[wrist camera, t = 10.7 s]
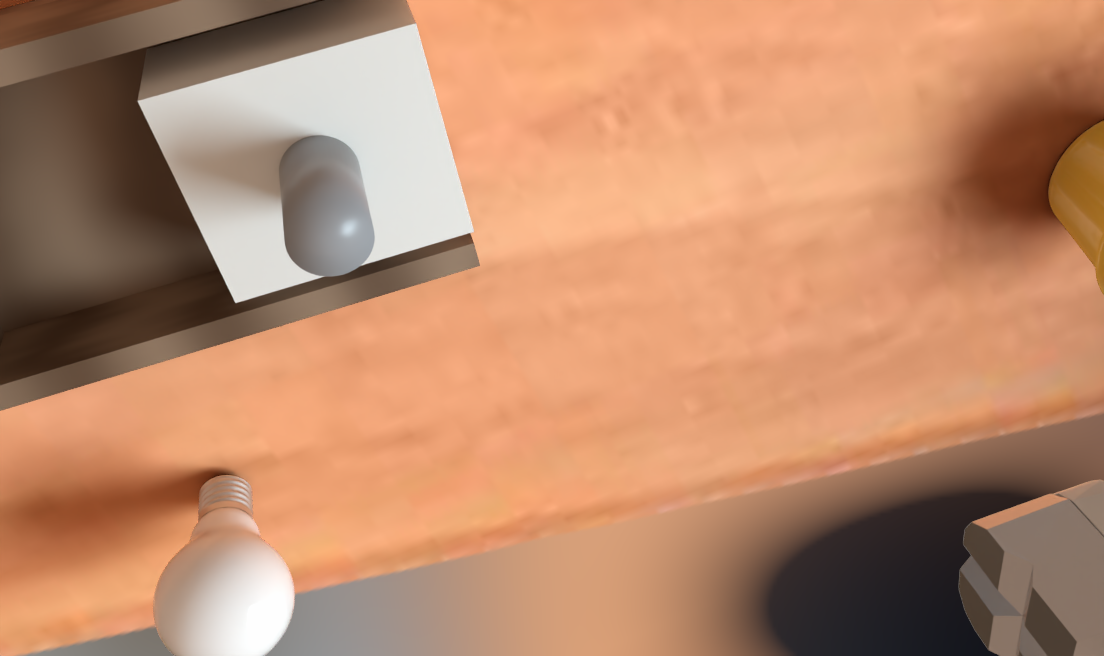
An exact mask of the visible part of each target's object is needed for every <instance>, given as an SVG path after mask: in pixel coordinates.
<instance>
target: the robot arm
mask: <svg viewBox="0 0 1104 656" xmlns="http://www.w3.org/2000/svg"><path fill="white" fill-rule="evenodd" d="M963 545H964V546H965V547H966V549H967V550H968V551H969V553H970V554H971V557H970V558H969V559H968V560H967V561H966V562H965V564H964V565H963V566H962V567H961V569H960V576H959V591H960V595H961V598H962V602H963V605H964V609H965V612H966V614H967V616H968V618H969V620H970V621H971V624H972V626H973V627H974V629H975V631H976V633H977V634H978V635H979V637H980V638H981V640H982V641H983V643H984V644H985V645H986V647H987V648H988V650H990V651H992V652H994V653H996V654H998V655H999V656H1104V481H1103V480H1092V481H1089V482H1086V483H1083V484H1080V485H1077V486H1074V487H1072V488H1069V489H1066V490H1063V491H1060V492H1057V493H1055V494H1049V495H1046V496H1043V497H1040V498H1037V499H1034V500H1032V501H1029V502H1026V503H1023V504H1021V505H1018V506H1015V507H1012V508H1009V509H1007V510H1004V511H1001V512H998V513H996V514H993V515H990V516H987V517H984V518H982V519H979V520H976V521H973V522H971V523H970V524H969V525H968V526H967V527H966V528H965V532H964V540H963Z"/></svg>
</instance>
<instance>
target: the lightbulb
mask: <svg viewBox="0 0 1104 656" xmlns="http://www.w3.org/2000/svg"><path fill="white" fill-rule="evenodd" d="M252 502H253V500H252V488H251V486H250V484H249V483H248V482H247V481H246V480H244V479H242V478H240V477H237V476H233V475H222V476H217V477H214V478H212V479H210V480H208V481H207V482H205V483H204V484H203V486H202V487H201V489H200V491H199V511H198V523H197V524H196V526H195V527H194V529H193V531H192V534H191V537H190V541H189V543H188V544H186V545H185V546H184V547H183V548H182V549H181V550H180V551H179V552H178V553H177V554H176V555H175V556H174V557H173V558H172V559H171V560H170V561H169V563H168V564H167V566H166V567H165V569H164V570H163V572H162V574H161V576H160V578H159V580H158V583H157V586H156V589H155V593H154V600H153V615H154V621H155V625H156V629H157V631H158V634H159V636H160V638H161V640H162V642H163V643H164V644H165V646H166V647H167V649H168V650H169V651H170V652H171V653H172V654H173V655H174V656H264V655H266V654H267V653H268V652H270V651H271V650H272V649H273V648H274V647H275V645H276V644H277V643H278V642H279V640H280V639H281V638H282V636H283V635H284V633H285V631H286V629H287V627H288V625H289V622H290V620H291V617H292V613H293V609H294V600H295V591H294V584H293V579H292V576H291V573H290V570H289V568H288V566H287V564H286V563H285V561H284V559H283V558H282V557H281V555H280V554H279V553H278V552H277V551H276V550H275V549H274V548H273V547H272V546H271V545H270V544H268V543H267V542H266V541H265V540H263V539H262V538H261V535H260V531H259V529H258V526H257V524H256V522H255V521H254V520H253V510H252V509H253V505H252Z"/></svg>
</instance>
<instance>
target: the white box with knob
mask: <svg viewBox="0 0 1104 656" xmlns="http://www.w3.org/2000/svg"><path fill="white" fill-rule="evenodd" d="M138 103H139V105H140V107H141V109H142V111H143V114H144V116H145V118H146V120H147V122H148V124H149V126H150V128H151V130H152V132H153V134H154V136H155V138H156V140H157V142H158V144H159V147H160V149H161V151H162V153H163V155H164V157H165V159H166V161H167V163H168V165H169V167H170V169H171V171H172V173H173V175H174V177H175V179H176V182H177V184H178V186H179V188H180V190H181V192H182V194H183V196H184V198H185V200H186V202H187V204H188V206H189V208H190V210H191V212H192V215H193V217H194V219H195V221H196V223H197V225H198V227H199V229H200V231H201V233H202V235H203V237H204V239H205V241H206V243H207V245H208V247H209V250H210V252H211V254H212V256H213V258H214V260H215V262H216V264H217V266H218V268H219V270H220V272H221V274H222V276H223V278H224V280H225V282H226V285H227V287H228V289H229V291H230V293H231V295H232V297H233V299H234V301H235V303H238V302H241V301H244V300H248V299H251V298H254V297H258V296H261V295H264V294H268V293H271V292H274V291H278V290H281V289H284V288H288V287H291V286H294V285H298V284H301V283H304V282H308V281H311V280H315V279H318V278H321V277H325V276H326V277H330V276H339V275H343V274H346V273H349V272H351V271H353V270H355V269H356V268H358V267H359V266H361V265H365V264H368V263H371V262H375V261H378V260H381V259H385V258H388V257H391V256H395V255H398V254H401V253H405V252H408V251H411V250H415V249H418V248H421V247H425V246H428V245H431V244H435V243H438V242H441V241H445V240H448V239H451V238H455V237H458V236H462V235H465V234H468V233H472V232H474V230H473V226H472V223H471V219H470V216H469V212H468V208H467V205H466V201H465V198H464V194H463V190H462V187H461V183H460V180H459V176H458V172H457V169H456V165H455V162H454V158H453V155H452V151H451V147H450V144H449V140H448V137H447V133H446V129H445V126H444V122H443V119H442V115H441V112H440V108H439V104H438V101H437V97H436V94H435V90H434V86H433V83H432V79H431V76H430V72H429V68H428V65H427V61H426V58H425V54H424V51H423V47H422V43H421V40H420V36H419V33H418V29H417V25H416V22H415V20H414V18H413V15H412V13H411V10H410V8H409V6H408V3H407V1H406V0H323V1H319V2H315V3H312V4H308V5H305V6H301V7H297V8H294V9H290V10H286V11H283V12H279V13H276V14H272V15H268V16H265V17H261V18H257V19H254V20H250V21H246V22H243V23H239V24H236V25H232V26H228V27H225V28H221V29H217V30H214V31H210V32H206V33H203V34H199V35H196V36H192V37H188V38H185V39H181V40H177V41H174V42H170V43H167V44H163V45H159V46H156V47H152V48H148V49H147V51H146V57H145V62H144V68H143V73H142V79H141V84H140V90H139V95H138Z"/></svg>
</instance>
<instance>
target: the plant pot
mask: <svg viewBox="0 0 1104 656" xmlns="http://www.w3.org/2000/svg"><path fill="white" fill-rule="evenodd" d="M1048 196H1049V203H1050V206H1051V209H1052V211H1053V213H1054V214H1055V216H1056V217H1057V218H1058V220H1059V221H1060V222H1061V223H1062V225H1063V226H1064V227H1065V229H1066V230H1067V231H1068V232H1069V234H1070V235H1071V236H1072V238H1073V239H1074V240H1075V241H1076V243H1077V244H1078V245H1079V247H1080V248H1081V249H1082V250H1083V252H1084V253H1085V254H1086V256H1087V257H1088V258H1089V260H1090V261H1091V262H1092V264H1093V265H1094V266H1095V268H1096V278H1097V282H1098V285H1099V287H1100V289H1101V291H1102V293H1103V294H1104V121H1101V122H1099V123H1098V124H1096V125H1094V126H1092V127H1091V128H1089V129H1088V130H1087V131H1085V132H1084V133H1083V134H1081V135H1080V136H1079V137H1078V138H1077V139H1076V140H1075V141H1074V142H1073V143H1072V144H1071V145H1070V146H1069V147H1068V148H1067V150H1066V151H1065V152H1064V154H1063V155H1062V157H1061V158H1060V159H1059V161H1058V163H1057V165H1056V167H1055V169H1054V171H1053V173H1052V176H1051V179H1050V183H1049V192H1048Z"/></svg>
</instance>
